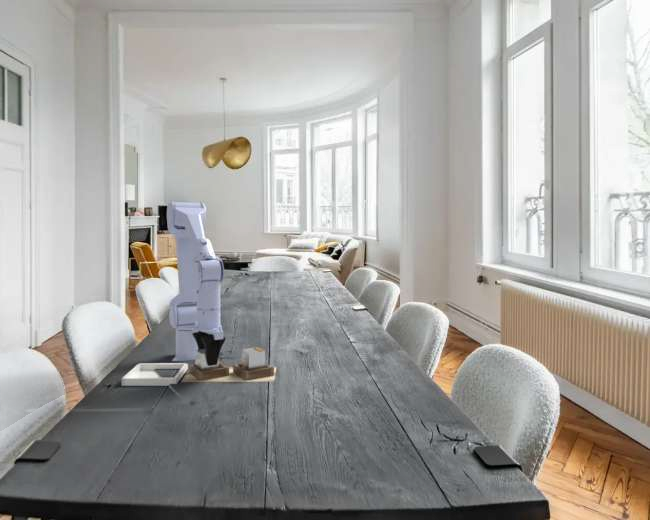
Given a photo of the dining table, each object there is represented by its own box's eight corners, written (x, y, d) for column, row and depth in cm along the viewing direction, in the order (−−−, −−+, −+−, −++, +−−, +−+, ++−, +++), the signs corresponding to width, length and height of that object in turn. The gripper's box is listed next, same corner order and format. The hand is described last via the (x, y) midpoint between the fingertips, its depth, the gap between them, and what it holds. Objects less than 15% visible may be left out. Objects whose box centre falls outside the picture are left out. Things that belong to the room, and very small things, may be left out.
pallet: (191, 370, 130) (191, 359, 129) (276, 370, 131) (276, 359, 131) (180, 385, 118) (180, 373, 117) (274, 385, 119) (274, 373, 119)
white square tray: (138, 371, 128) (138, 363, 128) (188, 371, 129) (188, 363, 129) (121, 388, 116) (121, 378, 115) (176, 387, 116) (176, 378, 116)
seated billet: (241, 372, 125) (241, 348, 125) (257, 370, 127) (257, 346, 127) (248, 377, 121) (248, 352, 121) (265, 374, 124) (265, 350, 123)
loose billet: (195, 373, 124) (195, 348, 124) (212, 370, 127) (212, 346, 126) (201, 378, 120) (201, 353, 120) (218, 375, 123) (218, 350, 122)
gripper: (183, 305, 126) (183, 357, 127) (202, 314, 114) (203, 372, 115) (210, 303, 130) (210, 354, 131) (231, 311, 118) (231, 367, 119)
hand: (208, 362), depth 124 cm, fingers closed on loose billet, 4 cm apart
